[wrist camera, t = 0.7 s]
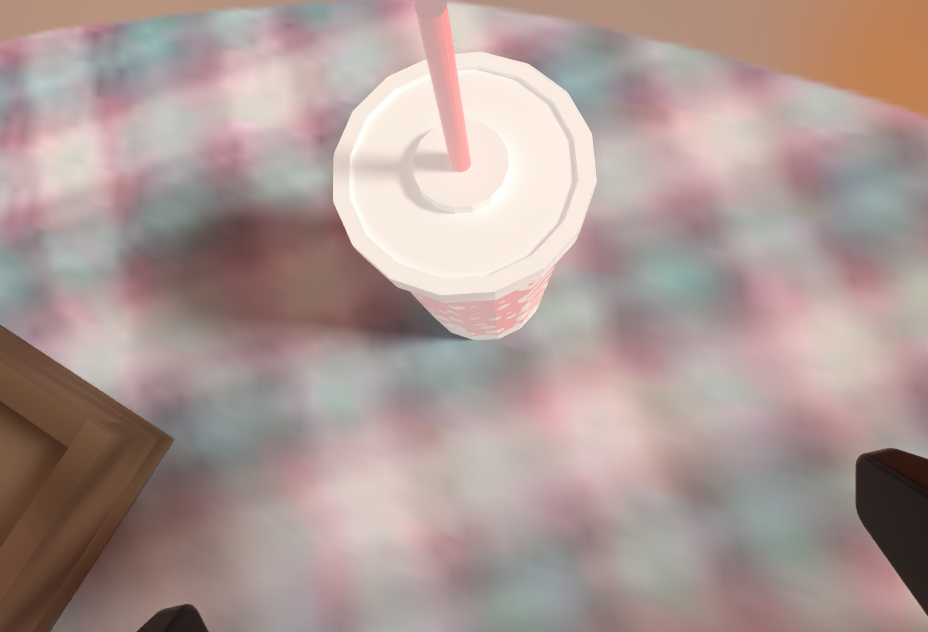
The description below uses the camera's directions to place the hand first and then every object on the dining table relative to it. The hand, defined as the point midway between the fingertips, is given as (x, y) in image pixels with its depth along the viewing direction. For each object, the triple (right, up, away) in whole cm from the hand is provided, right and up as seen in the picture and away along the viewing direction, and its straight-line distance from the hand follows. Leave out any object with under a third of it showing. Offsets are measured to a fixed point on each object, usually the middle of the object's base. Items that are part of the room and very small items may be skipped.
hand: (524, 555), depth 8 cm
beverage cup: (0, +5, +15) cm, 15 cm away
